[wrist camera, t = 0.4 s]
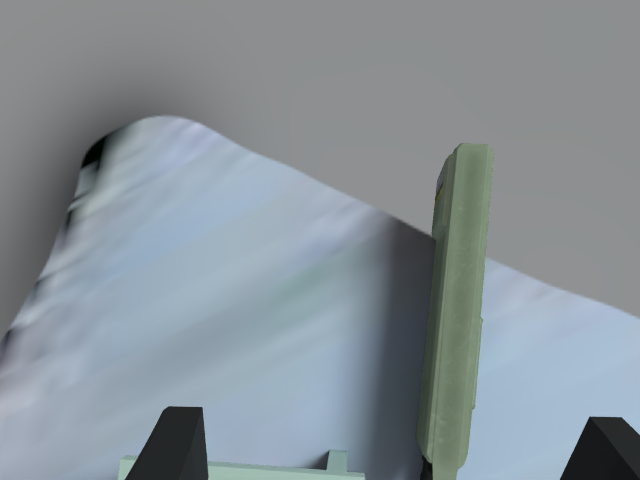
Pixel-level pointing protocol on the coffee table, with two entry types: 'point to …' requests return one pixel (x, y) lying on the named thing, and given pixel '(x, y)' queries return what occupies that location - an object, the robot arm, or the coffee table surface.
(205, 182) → the coffee table surface
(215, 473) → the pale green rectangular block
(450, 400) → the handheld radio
